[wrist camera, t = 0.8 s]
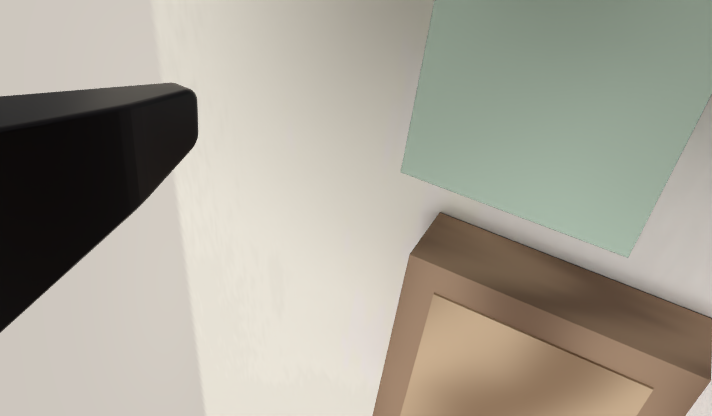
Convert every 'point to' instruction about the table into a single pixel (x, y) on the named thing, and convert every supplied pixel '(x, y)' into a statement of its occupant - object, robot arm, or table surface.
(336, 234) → the table surface
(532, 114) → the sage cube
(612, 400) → the walnut base
